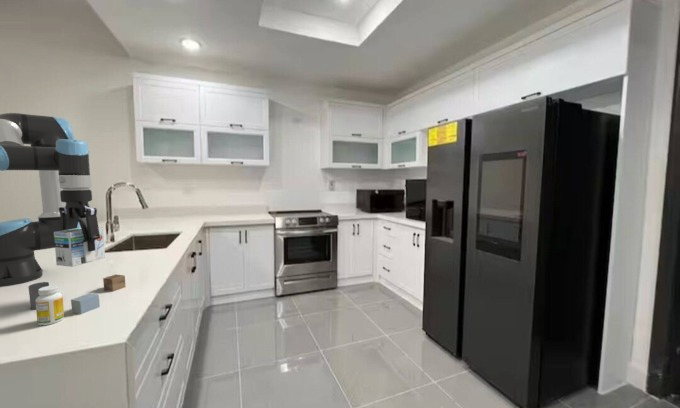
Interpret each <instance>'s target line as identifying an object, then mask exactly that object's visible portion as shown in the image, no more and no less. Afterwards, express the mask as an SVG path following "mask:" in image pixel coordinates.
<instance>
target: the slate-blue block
mask: <svg viewBox="0 0 680 408" xmlns="http://www.w3.org/2000/svg"><path fill="white" fill-rule="evenodd" d="M70 304H71V305H70V306H71V313H74V314H78V315H83V314H86V313H89V312H91V311H93V310H95V309H98V308H100V306H101V305H100V296H99V294H96V293H90V292H89V293H86V294H83V295H81V296H78V297H75V298H72V299H70Z"/></svg>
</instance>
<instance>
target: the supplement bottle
mask: <svg viewBox="0 0 680 408" xmlns="http://www.w3.org/2000/svg"><path fill="white" fill-rule="evenodd" d="M59 291H60V287H59V285H56V284H54V285H49V286H46V287H42V288H40V289H39V290H38V294H39V295H40V296H39V297H37V298H36V311H35V312H36V319H37V320H36V323H37V324H38V326H41V325H44V326H49V325H54V324H57V323H58V322H61V321H62V320H64V319H65V308H64V297H63V294H62V292H59Z"/></svg>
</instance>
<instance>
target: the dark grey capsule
mask: <svg viewBox="0 0 680 408" xmlns="http://www.w3.org/2000/svg"><path fill="white" fill-rule="evenodd" d="M46 286H50V283H49V281H43V282H42V281H41V282H37V283H33V284H30V285H29V286H28V287H27V288H28V295H29V296H28V297H29V304H30V305H29V306H30V310H31V311H32V310H33V311H35V310H36V298H37V297H39V296H40V295H39V294H38V290H39V289H40V288H42V287H46Z"/></svg>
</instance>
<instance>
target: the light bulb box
mask: <svg viewBox="0 0 680 408" xmlns="http://www.w3.org/2000/svg"><path fill="white" fill-rule="evenodd" d="M98 228H99V234H100V238H99V239H96V240H95V256H96V260H93V261H89V262H85V257H84V245H83V241H84V240H85V238H84V235H83V232H82V229H81V228H75V229H69V230H63V231H56V232H54V241H55V248H54V251H55V260H56V262H55V263H56V266H61V267H69V268H70V267H71V268H72V267H76V266H81V265H84V264H88V263H92V262H94V261H99V260H103V259H105V258H106V252H105V251H106V250H105V237H104V227H102V226H98Z"/></svg>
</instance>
